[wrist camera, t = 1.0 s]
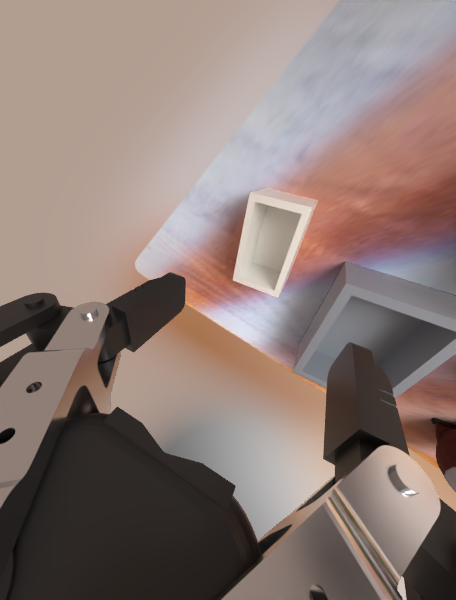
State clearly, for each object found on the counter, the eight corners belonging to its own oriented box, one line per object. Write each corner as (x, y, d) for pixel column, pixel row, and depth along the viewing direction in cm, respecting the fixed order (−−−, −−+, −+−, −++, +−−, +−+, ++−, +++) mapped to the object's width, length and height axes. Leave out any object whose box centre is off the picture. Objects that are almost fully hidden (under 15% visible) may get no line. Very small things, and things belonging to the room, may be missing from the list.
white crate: (249, 263, 30) (232, 280, 25) (267, 187, 24) (249, 192, 19) (288, 277, 28) (278, 297, 23) (318, 200, 22) (312, 207, 17)
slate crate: (299, 343, 33) (292, 371, 28) (345, 261, 24) (346, 283, 19) (371, 375, 30) (376, 412, 25) (455, 295, 21) (487, 330, 16)
